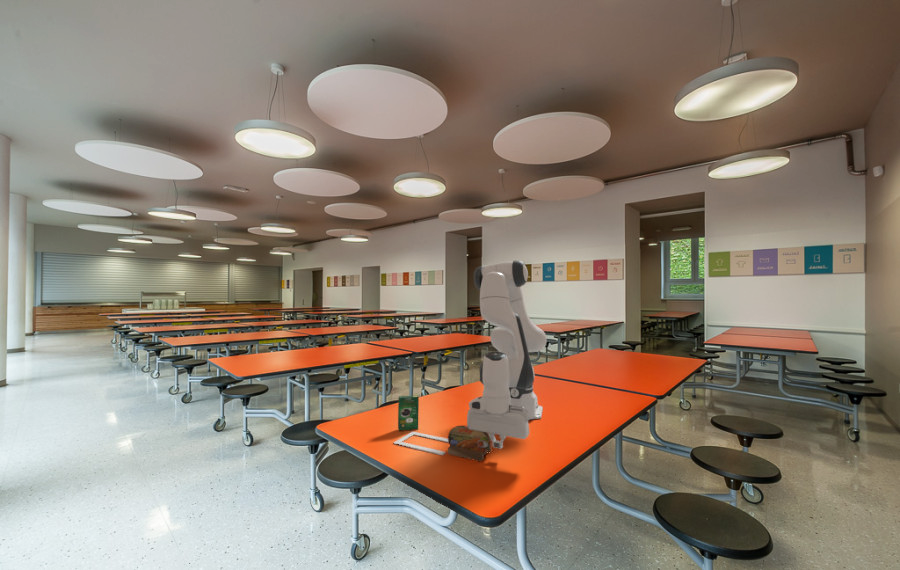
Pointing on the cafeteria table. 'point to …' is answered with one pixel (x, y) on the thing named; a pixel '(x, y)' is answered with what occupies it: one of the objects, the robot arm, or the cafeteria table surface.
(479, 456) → the dark brown parallel bars
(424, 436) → the frame
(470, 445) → the tin
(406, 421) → the coffee box
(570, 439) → the cafeteria table surface
